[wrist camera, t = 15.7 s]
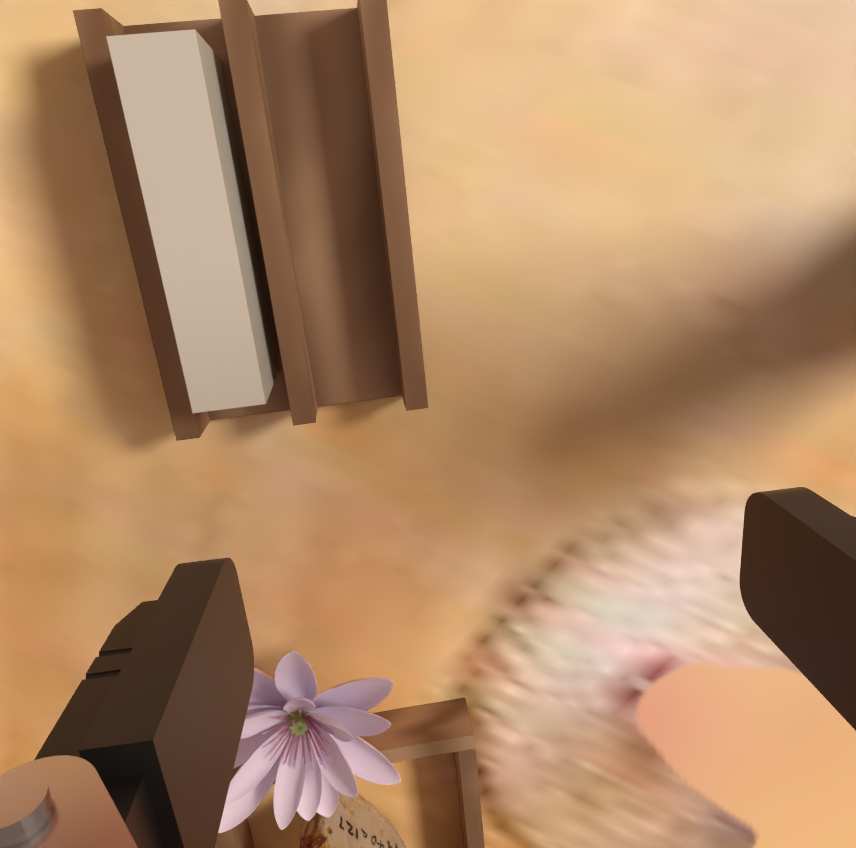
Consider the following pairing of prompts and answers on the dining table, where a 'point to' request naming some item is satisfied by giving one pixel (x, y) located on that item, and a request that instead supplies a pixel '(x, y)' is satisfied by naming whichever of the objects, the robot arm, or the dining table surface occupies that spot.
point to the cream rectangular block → (197, 214)
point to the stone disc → (350, 827)
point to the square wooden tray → (413, 739)
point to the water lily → (306, 744)
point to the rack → (295, 203)
